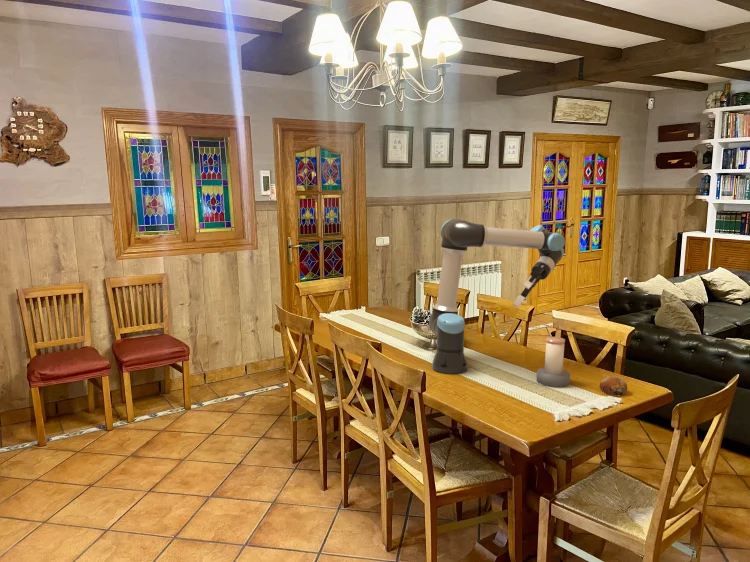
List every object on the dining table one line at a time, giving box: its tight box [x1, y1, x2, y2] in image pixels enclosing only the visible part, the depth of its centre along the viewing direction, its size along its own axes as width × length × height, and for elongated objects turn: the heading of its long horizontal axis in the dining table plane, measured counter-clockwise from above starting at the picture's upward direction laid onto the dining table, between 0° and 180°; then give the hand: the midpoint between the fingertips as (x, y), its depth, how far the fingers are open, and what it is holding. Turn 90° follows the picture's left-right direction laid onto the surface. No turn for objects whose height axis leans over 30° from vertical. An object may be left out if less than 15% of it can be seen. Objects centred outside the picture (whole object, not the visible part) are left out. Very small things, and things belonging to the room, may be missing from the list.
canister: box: [544, 336, 566, 375], centre depth 224 cm, size 7×7×14 cm
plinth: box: [536, 367, 571, 388], centre depth 225 cm, size 13×13×4 cm
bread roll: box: [599, 375, 628, 396], centre depth 215 cm, size 10×10×8 cm
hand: (520, 296), depth 236 cm, fingers open, 13 cm apart
